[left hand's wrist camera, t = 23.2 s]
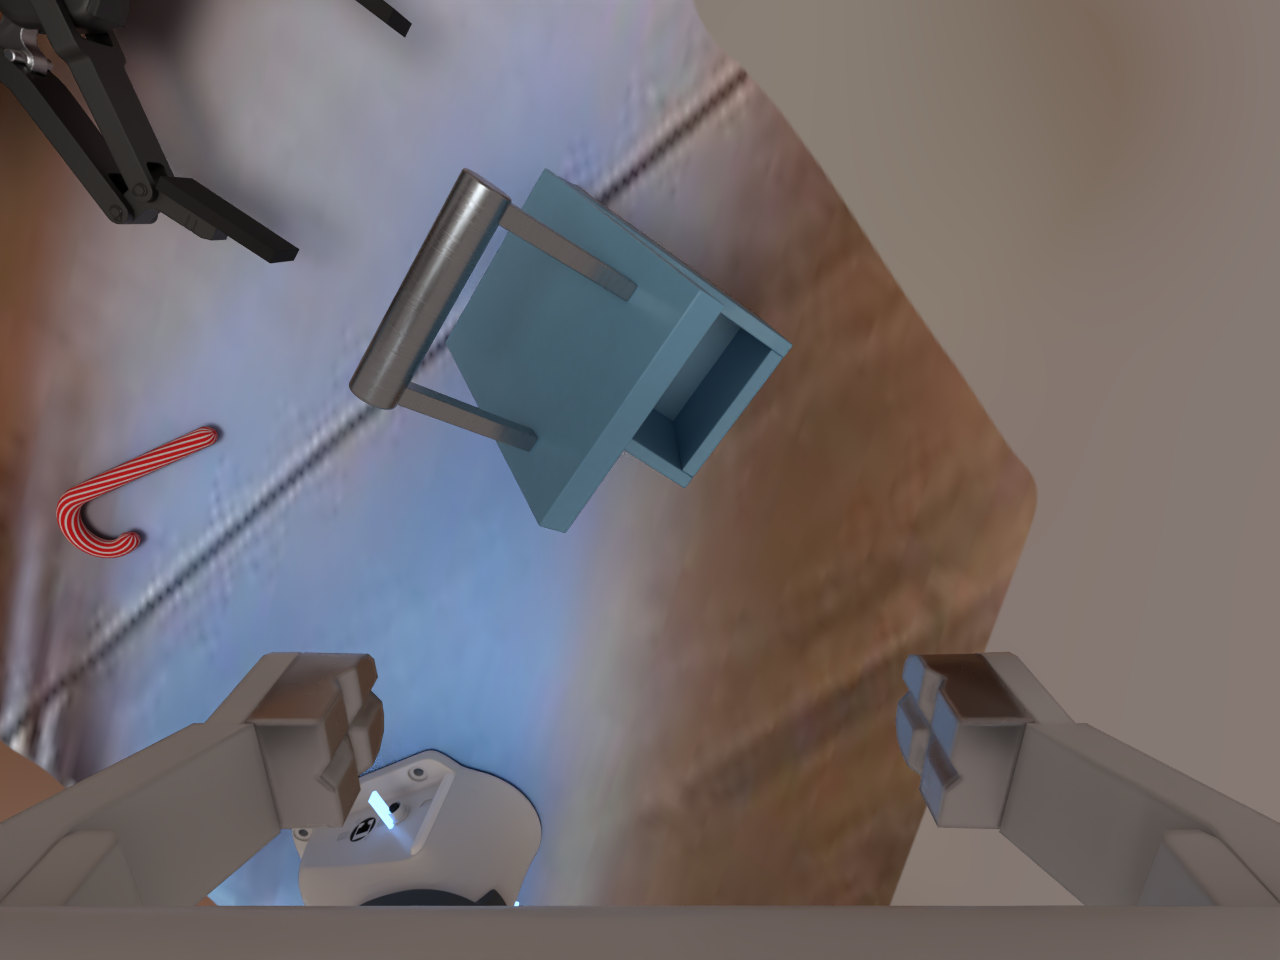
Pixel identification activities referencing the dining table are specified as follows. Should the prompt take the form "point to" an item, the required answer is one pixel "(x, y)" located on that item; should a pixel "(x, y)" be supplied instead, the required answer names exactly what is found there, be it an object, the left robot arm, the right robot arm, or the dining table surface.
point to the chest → (704, 380)
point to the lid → (540, 335)
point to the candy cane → (114, 479)
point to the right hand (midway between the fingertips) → (340, 146)
